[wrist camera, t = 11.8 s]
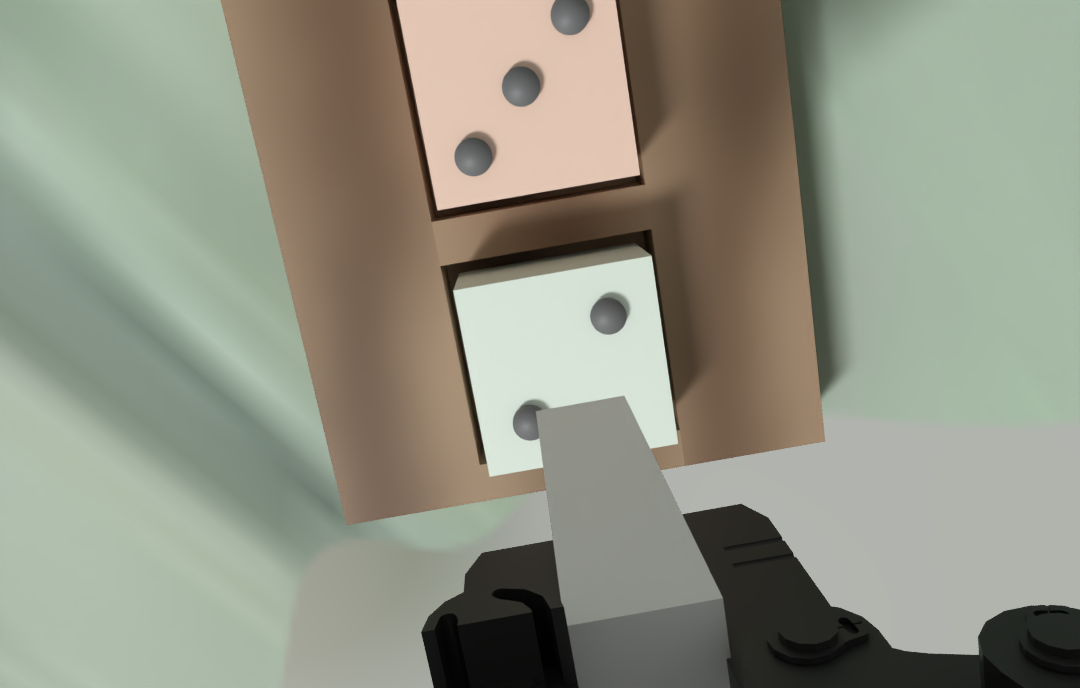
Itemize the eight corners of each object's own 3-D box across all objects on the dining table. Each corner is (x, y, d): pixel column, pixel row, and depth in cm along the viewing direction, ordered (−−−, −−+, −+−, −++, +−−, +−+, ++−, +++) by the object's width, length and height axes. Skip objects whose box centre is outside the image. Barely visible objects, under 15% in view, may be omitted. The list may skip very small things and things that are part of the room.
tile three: (446, 202, 24) (436, 211, 21) (409, 13, 23) (394, -7, 20) (623, 171, 24) (641, 175, 21) (596, -20, 23) (610, -46, 20)
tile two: (491, 438, 26) (489, 479, 23) (459, 273, 24) (452, 291, 21) (658, 409, 26) (679, 446, 23) (634, 242, 24) (652, 256, 21)
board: (358, 497, 27) (346, 525, 25) (170, -302, 22) (138, -345, 20) (802, 419, 27) (825, 441, 25) (715, -397, 22) (735, -450, 20)
